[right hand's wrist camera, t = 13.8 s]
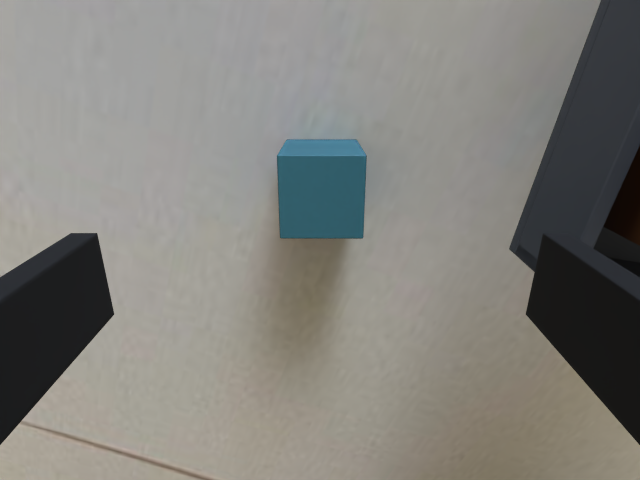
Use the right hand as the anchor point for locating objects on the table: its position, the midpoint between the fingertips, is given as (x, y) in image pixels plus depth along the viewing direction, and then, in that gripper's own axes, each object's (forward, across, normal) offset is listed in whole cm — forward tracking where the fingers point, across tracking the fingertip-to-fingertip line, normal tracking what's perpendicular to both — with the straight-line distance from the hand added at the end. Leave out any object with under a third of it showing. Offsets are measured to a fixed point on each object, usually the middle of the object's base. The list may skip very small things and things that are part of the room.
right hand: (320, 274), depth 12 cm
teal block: (+16, 0, 0) cm, 16 cm away
